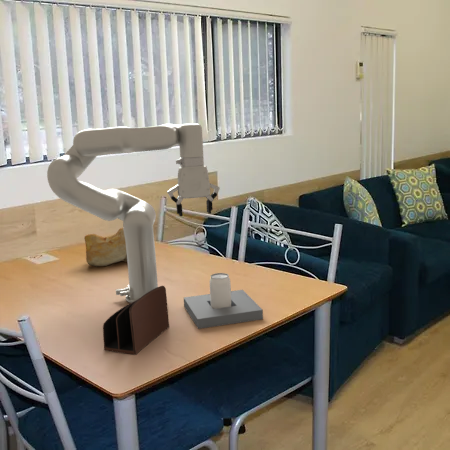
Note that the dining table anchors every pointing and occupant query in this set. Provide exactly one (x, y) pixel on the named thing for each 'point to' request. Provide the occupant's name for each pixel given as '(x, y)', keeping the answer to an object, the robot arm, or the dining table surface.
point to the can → (220, 290)
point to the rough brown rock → (105, 249)
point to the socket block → (222, 310)
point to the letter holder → (137, 323)
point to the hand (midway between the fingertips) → (194, 214)
